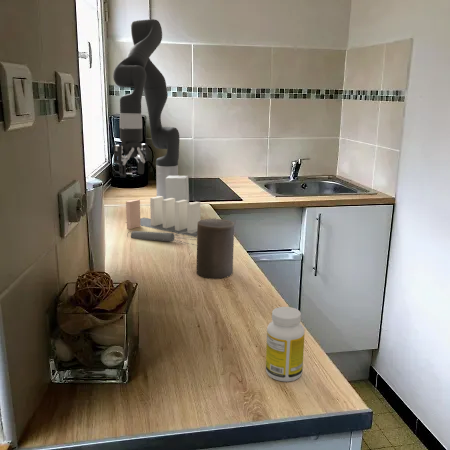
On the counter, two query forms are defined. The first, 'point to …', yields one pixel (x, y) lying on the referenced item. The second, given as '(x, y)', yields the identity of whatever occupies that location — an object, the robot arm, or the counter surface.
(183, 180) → the skincare box
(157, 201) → the domino
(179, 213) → the domino
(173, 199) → the domino
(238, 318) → the counter surface
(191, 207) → the domino
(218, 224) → the pillar candle
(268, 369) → the pill bottle
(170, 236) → the kitchen whisk
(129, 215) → the domino
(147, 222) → the mat
